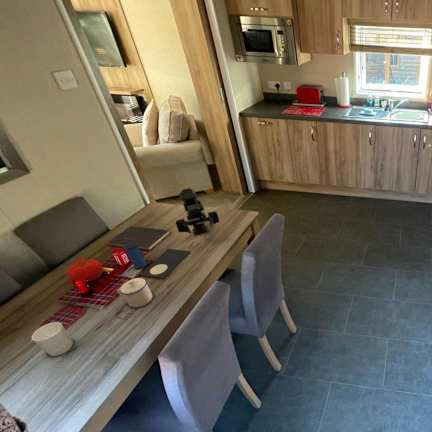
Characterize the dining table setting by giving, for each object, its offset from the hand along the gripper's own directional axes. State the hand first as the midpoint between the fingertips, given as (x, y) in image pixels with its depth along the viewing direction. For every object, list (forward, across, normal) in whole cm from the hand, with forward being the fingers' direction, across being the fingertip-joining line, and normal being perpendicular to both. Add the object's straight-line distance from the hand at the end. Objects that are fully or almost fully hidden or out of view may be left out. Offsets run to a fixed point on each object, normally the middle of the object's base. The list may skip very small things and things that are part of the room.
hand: (201, 229), depth 154 cm
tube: (-9, -29, +17) cm, 35 cm away
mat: (-4, -19, +17) cm, 26 cm away
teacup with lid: (+16, -32, +17) cm, 39 cm away
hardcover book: (-33, -28, +17) cm, 47 cm away
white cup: (+28, -56, +17) cm, 65 cm away
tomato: (-11, -49, +17) cm, 53 cm away
